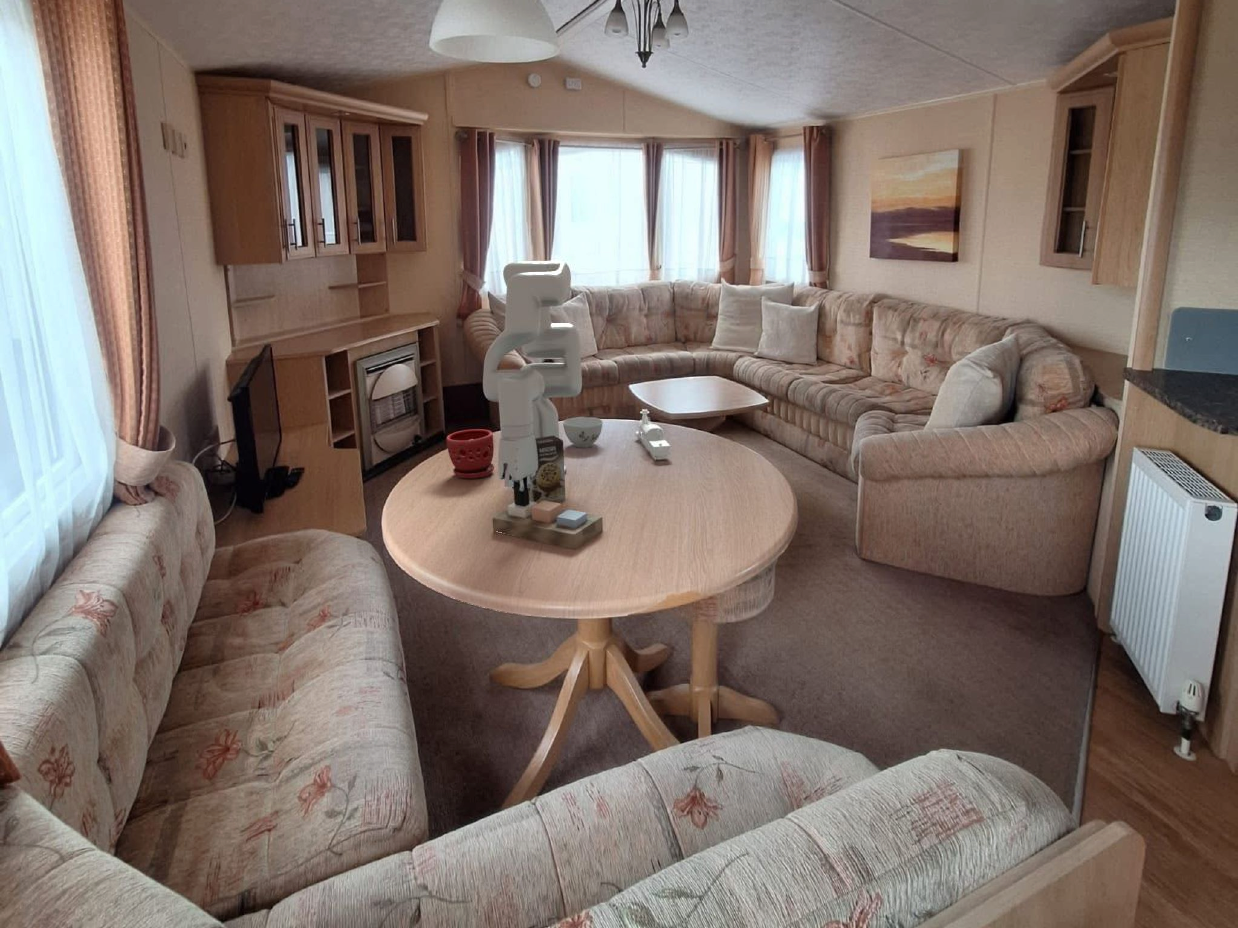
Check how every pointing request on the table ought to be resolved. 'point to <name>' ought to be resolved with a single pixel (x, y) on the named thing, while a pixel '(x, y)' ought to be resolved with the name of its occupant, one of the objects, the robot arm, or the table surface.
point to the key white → (521, 510)
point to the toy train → (652, 438)
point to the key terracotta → (546, 511)
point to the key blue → (572, 518)
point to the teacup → (582, 430)
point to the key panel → (548, 529)
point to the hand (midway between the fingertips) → (522, 504)
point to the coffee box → (548, 471)
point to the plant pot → (471, 452)
